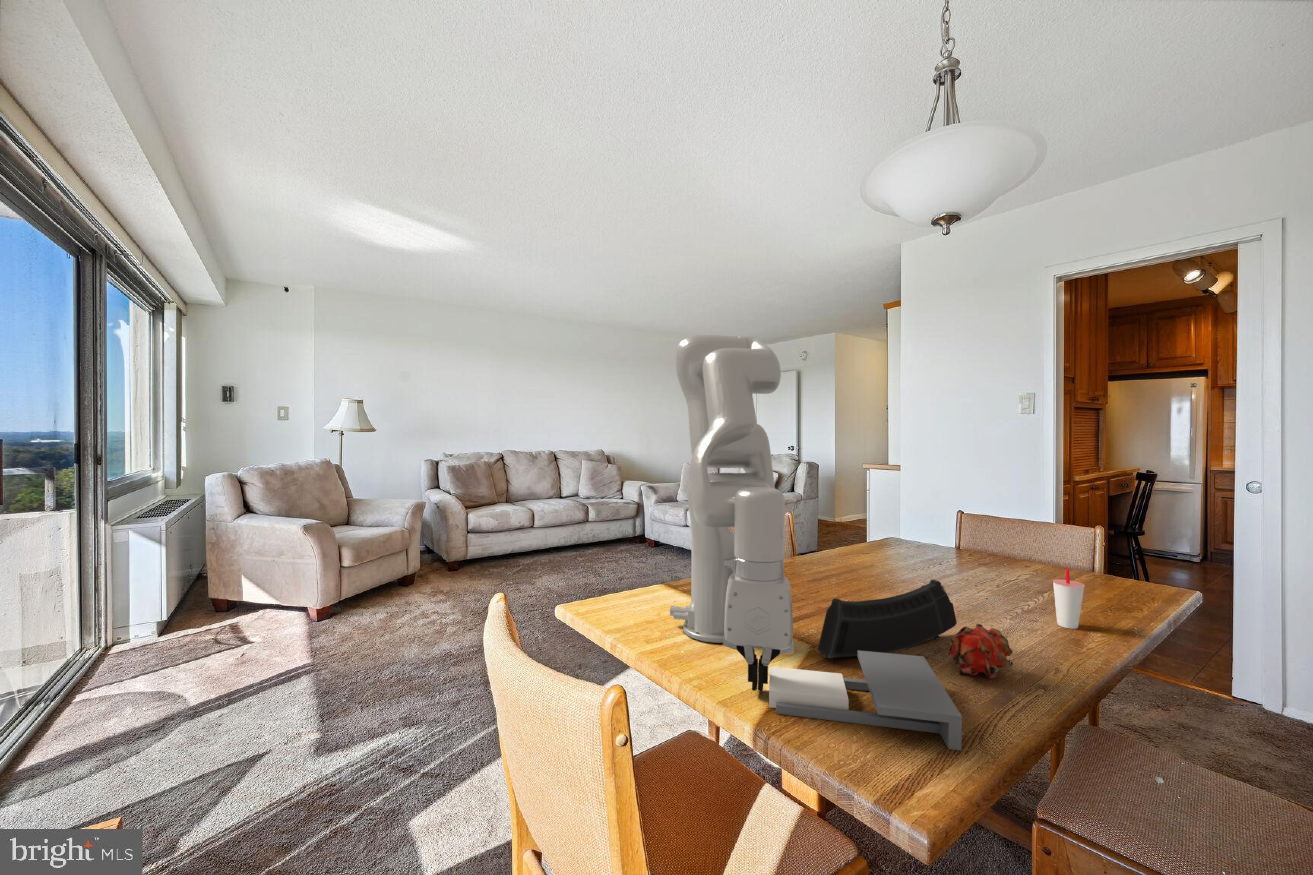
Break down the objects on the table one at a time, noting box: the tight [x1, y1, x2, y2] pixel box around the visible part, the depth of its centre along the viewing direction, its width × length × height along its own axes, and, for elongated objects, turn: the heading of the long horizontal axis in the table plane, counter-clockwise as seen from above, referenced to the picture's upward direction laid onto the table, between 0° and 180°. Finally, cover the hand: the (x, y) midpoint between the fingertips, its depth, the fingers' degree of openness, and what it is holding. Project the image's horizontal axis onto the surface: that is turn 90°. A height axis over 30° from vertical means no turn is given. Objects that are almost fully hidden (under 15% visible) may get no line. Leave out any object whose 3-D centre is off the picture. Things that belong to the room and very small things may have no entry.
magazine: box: [817, 579, 958, 659], centre depth 99 cm, size 18×3×31 cm
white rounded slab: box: [768, 665, 850, 710], centre depth 81 cm, size 11×8×2 cm
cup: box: [1052, 568, 1086, 630], centre depth 110 cm, size 5×5×12 cm
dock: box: [775, 650, 963, 751], centre depth 79 cm, size 23×18×4 cm
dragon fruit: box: [948, 623, 1014, 680], centre depth 89 cm, size 8×8×12 cm
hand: (757, 686), depth 82 cm, fingers closed
